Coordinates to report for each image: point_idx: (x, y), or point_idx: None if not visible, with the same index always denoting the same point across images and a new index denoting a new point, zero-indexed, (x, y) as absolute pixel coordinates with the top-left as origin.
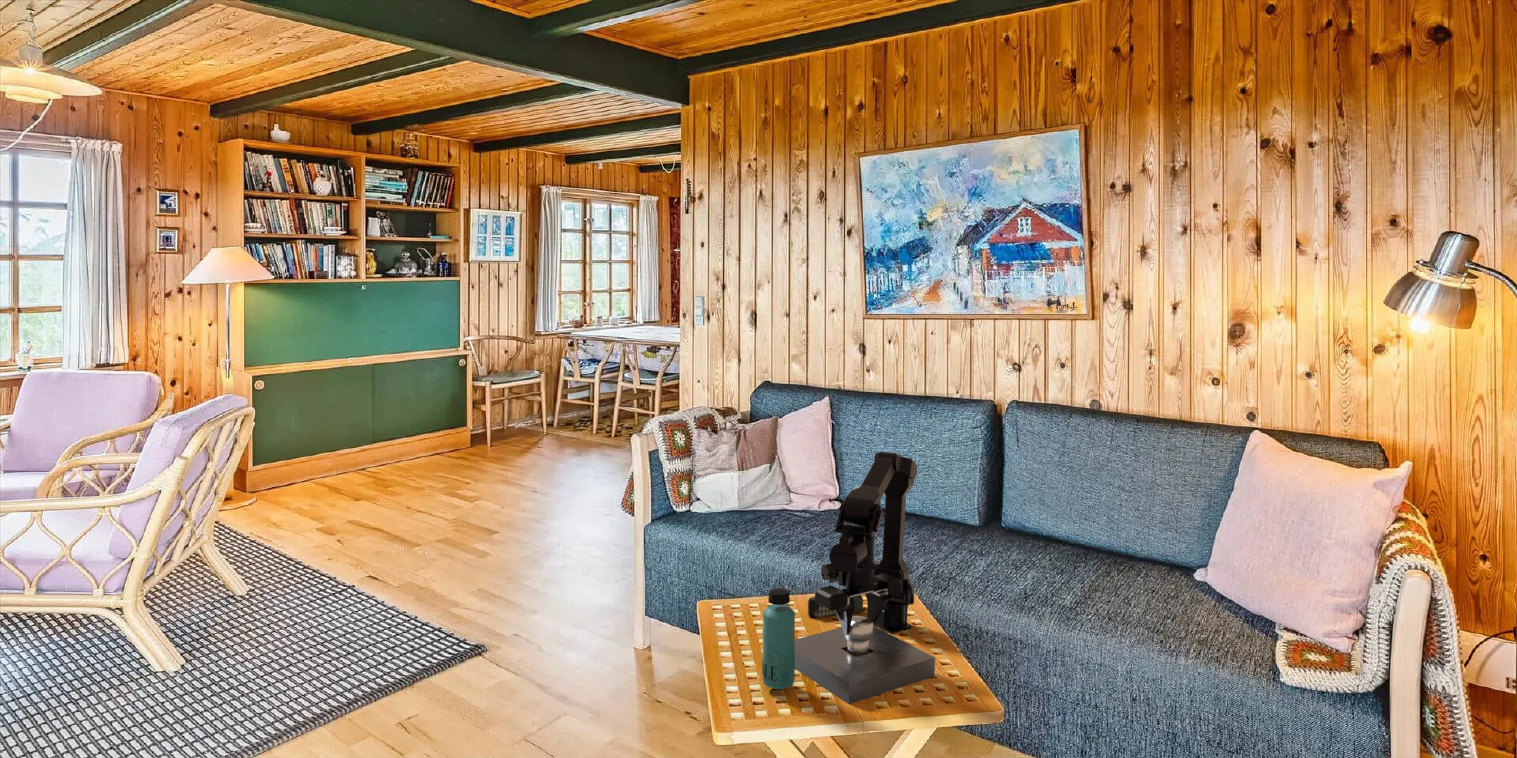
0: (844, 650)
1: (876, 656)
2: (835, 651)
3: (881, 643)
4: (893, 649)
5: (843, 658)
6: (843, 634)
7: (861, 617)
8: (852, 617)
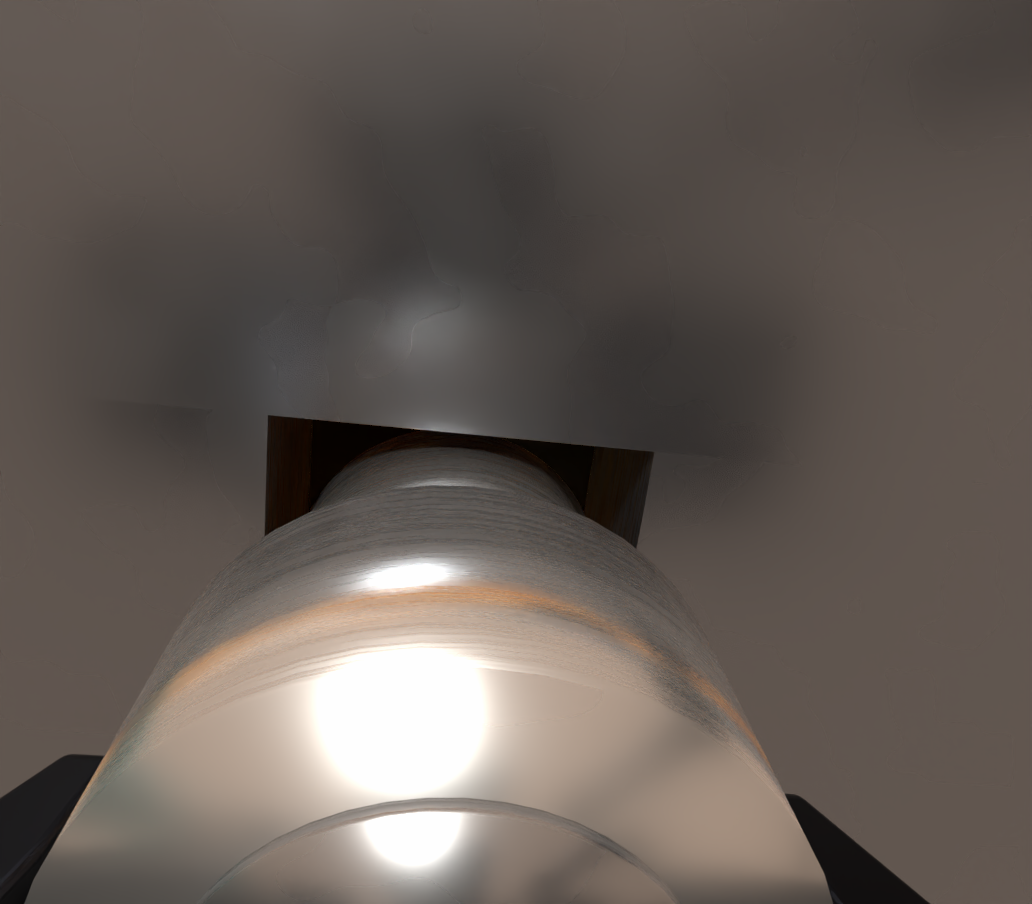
0: (267, 505)
1: None
2: (113, 455)
3: (876, 642)
4: None
5: (74, 681)
6: (198, 599)
7: (732, 884)
8: (529, 750)
